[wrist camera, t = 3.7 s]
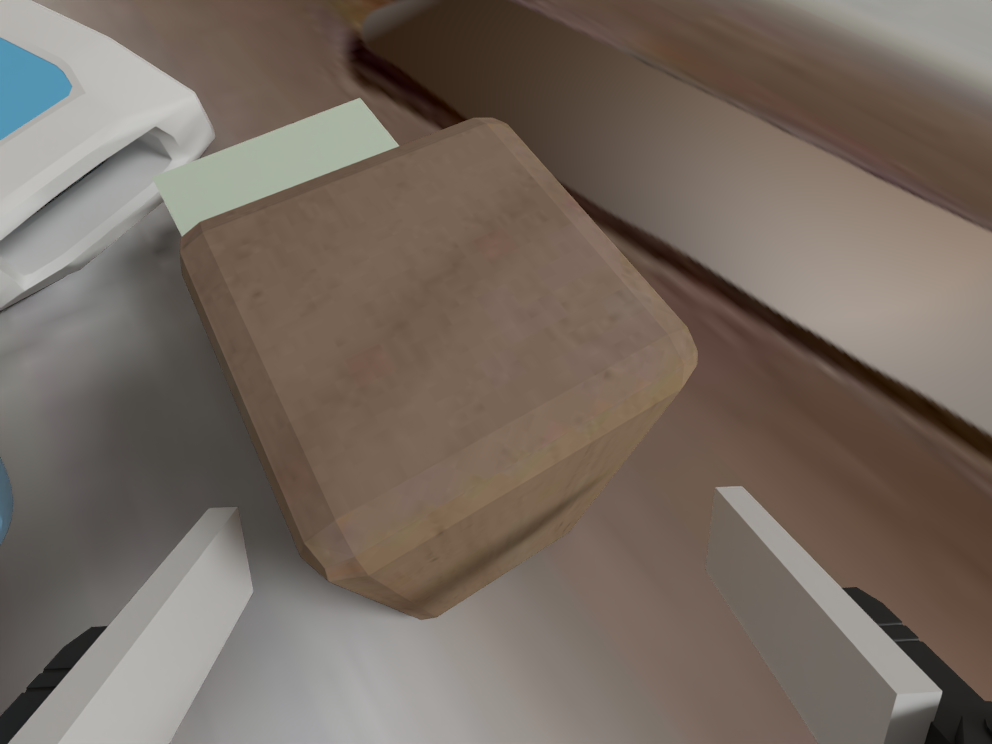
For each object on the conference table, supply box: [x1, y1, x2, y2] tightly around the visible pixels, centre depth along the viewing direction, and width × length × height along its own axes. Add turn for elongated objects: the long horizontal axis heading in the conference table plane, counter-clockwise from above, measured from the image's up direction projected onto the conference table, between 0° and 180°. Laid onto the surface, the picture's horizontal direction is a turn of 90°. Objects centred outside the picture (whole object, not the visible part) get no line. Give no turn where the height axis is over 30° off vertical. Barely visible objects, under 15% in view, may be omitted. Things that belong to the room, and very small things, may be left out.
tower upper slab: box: [152, 98, 399, 236], centre depth 29 cm, size 12×12×5 cm
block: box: [180, 118, 698, 620], centre depth 21 cm, size 10×10×20 cm
